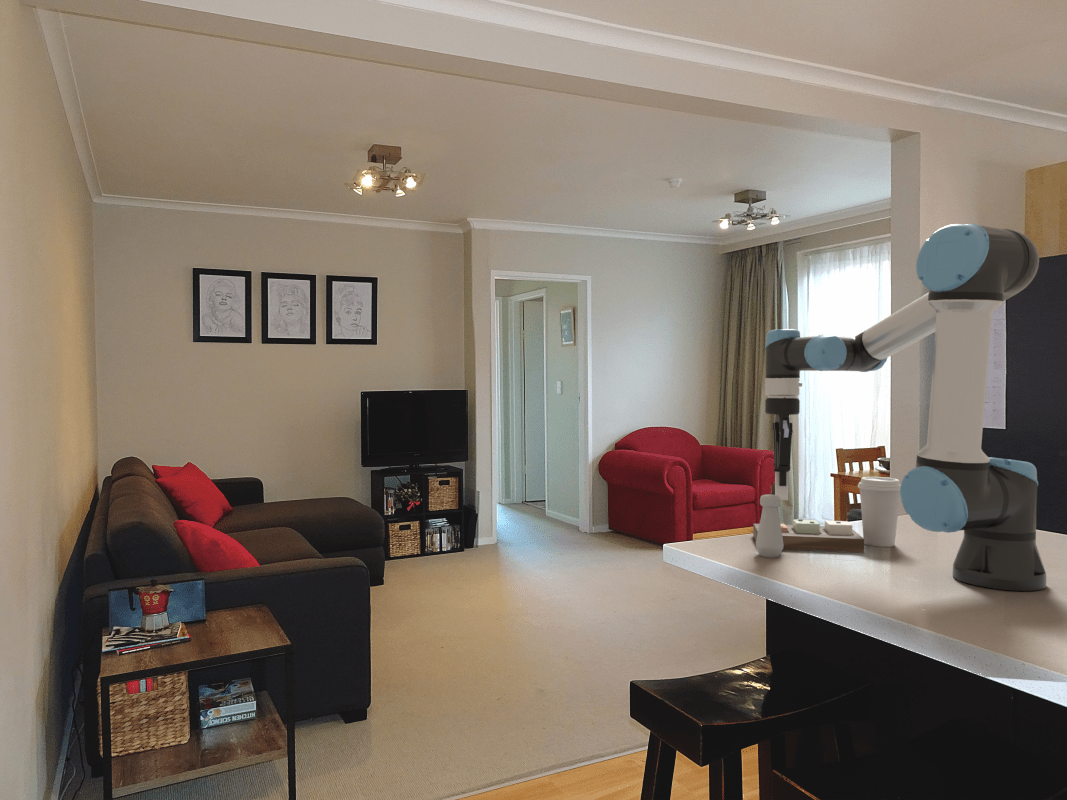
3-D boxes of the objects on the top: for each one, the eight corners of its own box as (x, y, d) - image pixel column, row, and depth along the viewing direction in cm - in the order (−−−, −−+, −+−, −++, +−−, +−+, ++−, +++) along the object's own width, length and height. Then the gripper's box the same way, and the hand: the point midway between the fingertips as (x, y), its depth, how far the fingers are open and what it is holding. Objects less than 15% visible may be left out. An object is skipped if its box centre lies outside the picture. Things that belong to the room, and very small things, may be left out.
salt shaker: (752, 556, 167) (753, 495, 166) (758, 551, 172) (759, 492, 171) (780, 559, 164) (781, 497, 163) (786, 554, 169) (786, 494, 169)
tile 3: (787, 538, 178) (787, 526, 178) (764, 537, 179) (764, 525, 179) (784, 533, 183) (784, 522, 183) (761, 533, 184) (762, 522, 184)
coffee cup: (909, 548, 175) (910, 481, 175) (866, 548, 176) (867, 481, 175) (890, 539, 185) (892, 476, 185) (850, 539, 185) (851, 476, 185)
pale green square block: (819, 534, 177) (819, 523, 177) (796, 533, 178) (796, 522, 178) (815, 530, 182) (815, 519, 182) (793, 529, 183) (793, 518, 183)
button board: (864, 552, 171) (864, 538, 171) (759, 548, 175) (759, 534, 175) (849, 539, 185) (849, 527, 185) (753, 536, 189) (753, 523, 189)
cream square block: (852, 535, 176) (852, 524, 176) (828, 535, 177) (829, 523, 176) (847, 531, 181) (847, 520, 181) (824, 530, 181) (824, 519, 181)
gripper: (804, 397, 173) (803, 504, 173) (794, 396, 186) (793, 496, 186) (769, 397, 174) (768, 503, 174) (761, 396, 187) (761, 495, 187)
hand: (781, 499), depth 180 cm, fingers closed
